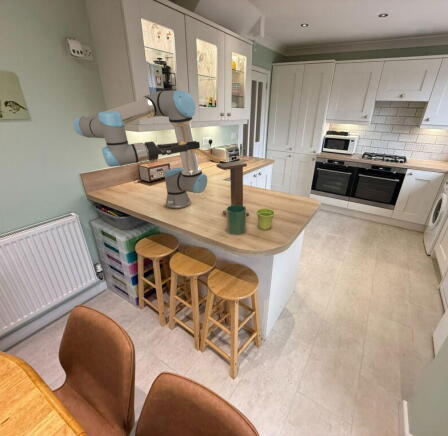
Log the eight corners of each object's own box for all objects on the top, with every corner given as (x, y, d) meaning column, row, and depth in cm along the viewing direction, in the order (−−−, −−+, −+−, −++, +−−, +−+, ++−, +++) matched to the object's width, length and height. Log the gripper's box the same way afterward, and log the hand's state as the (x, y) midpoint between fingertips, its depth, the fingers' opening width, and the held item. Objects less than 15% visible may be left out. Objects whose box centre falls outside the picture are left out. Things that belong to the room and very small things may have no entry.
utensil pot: (223, 228, 121) (222, 207, 116) (239, 223, 126) (238, 203, 121) (233, 236, 114) (233, 214, 109) (249, 231, 119) (249, 209, 114)
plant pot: (272, 222, 127) (273, 208, 123) (275, 231, 119) (276, 215, 115) (255, 223, 127) (255, 208, 123) (256, 231, 118) (257, 216, 115)
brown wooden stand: (217, 214, 136) (215, 163, 123) (238, 209, 144) (237, 160, 131) (227, 221, 128) (225, 167, 115) (248, 215, 136) (249, 164, 123)
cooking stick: (177, 145, 104) (179, 140, 104) (216, 162, 119) (218, 157, 118) (179, 145, 102) (181, 140, 102) (219, 163, 117) (221, 158, 117)
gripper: (143, 157, 104) (191, 150, 115) (153, 164, 92) (206, 155, 104) (139, 140, 100) (189, 134, 112) (149, 145, 89) (204, 137, 101)
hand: (197, 144), depth 108 cm, fingers closed on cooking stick, 2 cm apart
